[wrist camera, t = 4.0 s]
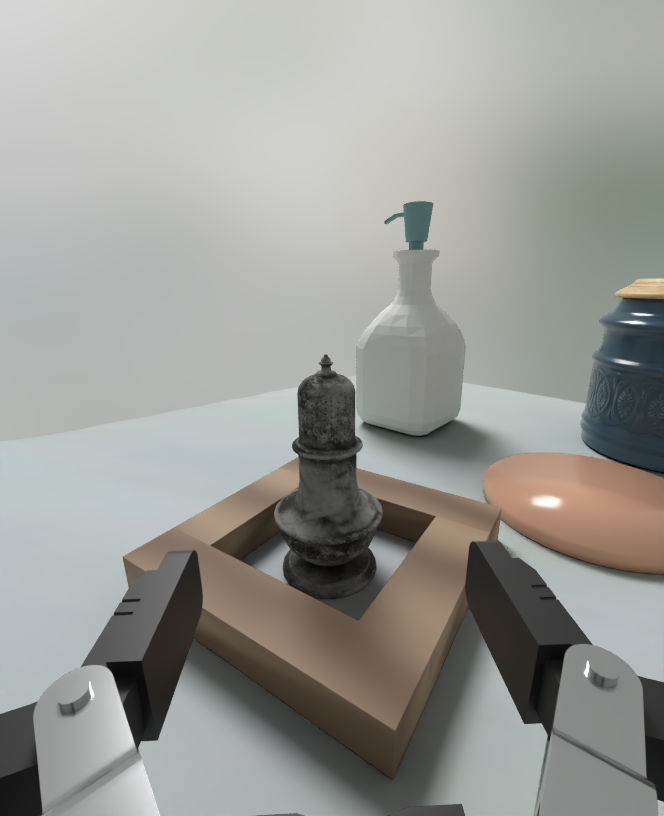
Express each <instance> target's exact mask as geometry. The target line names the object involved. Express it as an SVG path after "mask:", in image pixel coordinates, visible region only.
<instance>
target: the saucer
mask: <svg viewBox="0 0 664 816" xmlns="http://www.w3.org/2000/svg"><path fill="white" fill-rule="evenodd" d="M483 493H484V497H485V499H486V502H487V504H490V505H493V506H497V507H501V508H502V510H501V517H500V519H502V520H503V521H504V522H505V523H506V524H508V525H509V526H510V527H512V528H513V529H515V530H516V531H518V532H519V533H521V534H523V535H524V536H526V537H528V538H530V539H531V540H533V541H535V542H537V543H540V544H542V545H544V546H546V547H548V548H550V549H553V550H555V551H558V552H560V553H563V554H565V555H568V556H571V557H574V558H577V559H580V560H583V561H586V562H590V563H594V564H597V565H601V566H605V567H610V568H615V569H620V570H625V571H632V572H639V573H651V574H664V478H662V477H659V476H657V475H654V474H651V473H649V472H646V471H643V470H640V469H637V468H634V467H630V466H627V465H624V464H620V463H616V462H612V461H608V460H603V459H598V458H593V457H587V456H581V455H573V454H563V453H525V454H518V455H513V456H509V457H506V458H503V459H500V460H498V461H496V462H494V463H493V464H492V465H490V467H489V468H488V469H487V471H486V473H485V479H484V488H483Z"/></svg>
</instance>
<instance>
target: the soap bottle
mask: <svg viewBox="0 0 664 816" xmlns="http://www.w3.org/2000/svg"><path fill="white" fill-rule="evenodd" d="M403 208H404V213H398V214H394V215H393V216H392V217H390V218H388V219H387V220H386V221H385V224H388V223H390V222H391V221H393V220H394V219H396V218H397V217H404V221H405V236H406V242H409V250H402V251H394V252H393V257H394V258H395V259H396V260H397V261H398V263H399V285H398V286H399V287H398V292H397V295H396V297H395V299H394V300H393V302H392V304H391V305H389V306H388V307H387V308H386V309H385V310H383V311H382V312H381V313H380V314H379V315H378V316H377V317H376V318H375V319H374V320H373V322H372V323H371V324H370V326H369V327H368V328H367V329H366V330H365V331H364V332H363V334H362V336H361V338H360V340H359V342H358V345H357V347H356V361H357V362H356V373H357V374H356V386H357V412H358V415H359V416H360V418H361V419H362V420H363V421H364V422H366V423H368V424H372V425H376V426H379V427H383V428H387V429H391V430H395V431H398V432H402V433H406V434H410V435H419V436H421V435H426V434H428V433H430V432H432V431H433V430H435V429H437V428H439V427H441V426H442V425H444V424H446V423H448V422H450V421H451V420H453V419H454V418H456V417H457V416H458V413H459V410H460V405H461V393H462V382H463V370H464V359H465V342H464V338H463V335H462V333H461V331H460V329H459V328H458V326H457V325H456V323H455V322H454V321H453V320H452V318H450V316H449V315H448V314H447V313H446V312H445V311H444V310H443V309H442V308H440V307H439V306H438V305H437V304H436V303H435V301H434V299H433V297H432V293H431V289H430V287H431V286H430V285H431V270H432V262H433V261H434V260H435V258H436V257H438V256H439V250H423V243H424V242H426V241H427V238H428V232H429V226H430V220H431V214H432V208H433V203H432V202H426V201H415V202H410V203H406V204H404V205H403Z"/></svg>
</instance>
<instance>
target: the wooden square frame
mask: <svg viewBox="0 0 664 816" xmlns="http://www.w3.org/2000/svg"><path fill="white" fill-rule="evenodd" d="M356 478H357V484H358V487H359V488H361V489H363V490H365V491H368V492H369V493H371V494H372V495H373V496H374V497H376V498H377V499H378V501H379V502H380V504H381V505H382V510H383V516H382V520H381V523H380V524H379V525H378V526H377V528H378V529H380V530H383V531H386V532H389V533H392V534H395V535H397V536H400V537H403V538H406V539H409V540H412V541H414V542H417V543H416V544H415V545H414V547H413V548H412V550H411V551H410V552H409V554H408V555H407V556H406V558H405V559H404V560H403V562H402V563H401V564H400V566H399V567H398V568H397V570H396V571H395V573H394V574H393V575H392V577H391V578H390V579H389V581H388V582H387V583H386V585H385V586H384V587H383V589H382V590H381V591H380V593H379V594H378V596H377V597H376V598H375V600H374V601H373V602H372V604H371V605H370V606H369V608H368V609H367V610H366V612H365V613H364V614H363V616H362V617H361V618H360V620H359V621H358V620H356V619H354V618H352V617H350V616H348V615H346V614H344V613H343V612H341V611H339V610H337V609H335V608H333V607H331V606H329V605H327V604H325V603H323V602H321V601H319V600H317V599H315V598H313V597H311V596H309V595H307V594H305V593H303V592H301V591H299V590H297V589H295V588H293V587H291V586H289V585H287V584H285V583H283V582H281V581H279V580H277V579H275V578H273V577H271V576H269V575H267V574H265V573H263V572H261V571H259V570H257V569H255V568H253V567H251V566H249V565H247V564H245V563H243V562H242V561H240V560H241V559H243V558H244V557H245V556H247V555H248V554H249V553H251V552H252V551H253V550H255V549H256V548H257V547H259V546H260V545H261V544H263V543H264V542H265V541H267V540H268V539H269V538H270V537H272V536H273V535H274V534H276V533H277V532H278V531H280V530H281V529H280V528H279V526H278V525H277V524H276V522H275V516H274V511H275V508H276V505H277V504H278V503H279V501H280V500H281V499H282V498H283V497H284V496H286V495H287V494H288V493H290V492H292V491H294V490H296V489H298V487H299V480H300V479H299V457H298V458H296V459H294V460H293V461H291V462H289V463H287V464H286V465H284V466H282V467H280V468H278V469H277V470H275V471H273V472H271V473H270V474H268V475H266V476H264V477H263V478H261V479H259V480H257V481H255V482H254V483H252V484H250V485H248V486H247V487H245V488H243V489H241V490H240V491H238V492H236V493H234V494H233V495H231V496H229V497H227V498H225V499H224V500H222V501H220V502H218V503H217V504H215V505H213V506H211V507H210V508H208V509H206V510H204V511H203V512H201V513H199V514H197V515H195V516H194V517H192V518H190V519H188V520H187V521H185V522H183V523H181V524H180V525H178V526H176V527H174V528H173V529H171V530H169V531H167V532H165V533H164V534H162V535H160V536H158V537H157V538H155V539H153V540H151V541H150V542H148V543H146V544H144V545H142V546H141V547H139V548H137V549H135V550H134V551H132V552H130V553H128V554H127V555H125V556H123V561H124V566H125V571H126V576H127V581H128V586H129V588H130V586H131V584H132V583H133V582H135V581H136V580H137V579H138V578H139V577H140V576H141V575H143V574H144V573H145V572H146V571H147V570H157V569H158V567H159V565H160V564H161V562H162V560H163V558H164V556H165V555H166V553H167V552H168V551H182V550H196V552H197V554H198V561H199V568H200V576H201V583H202V591H203V606H202V612H201V616H200V619H199V622H198V625H197V628H196V631H195V634H194V637H193V638H194V639H196V640H197V641H199V642H200V643H201V644H203V645H204V646H206V647H207V648H209V649H210V650H211V651H213V652H214V653H216V654H217V655H218V656H220V657H221V658H223V659H224V660H225V661H227V662H228V663H230V664H231V665H232V666H234V667H235V668H237V669H238V670H239V671H241V672H242V673H244V674H245V675H246V676H248V677H249V678H251V679H252V680H253V681H255V682H256V683H258V684H259V685H260V686H262V687H263V688H265V689H266V690H267V691H269V692H270V693H272V694H273V695H274V696H276V697H277V698H279V699H280V700H282V701H283V702H284V703H286V704H287V705H289V706H290V707H291V708H293V709H294V710H296V711H297V712H298V713H300V714H301V715H303V716H304V717H305V718H307V719H308V720H310V721H311V722H312V723H314V724H315V725H317V726H318V727H319V728H321V729H322V730H324V731H325V732H326V733H328V734H329V735H331V736H332V737H333V738H335V739H336V740H338V741H339V742H340V743H342V744H343V745H345V746H346V747H348V748H349V749H350V750H352V751H353V752H355V753H356V754H357V755H359V756H360V757H362V758H363V759H364V760H366V761H367V762H369V763H370V764H371V765H373V766H374V767H376V768H377V769H378V770H380V771H381V772H383V773H384V774H385V775H387V776H388V777H390V778H391V779H392V780H393V778H394V776H395V773H396V771H397V769H398V766H399V764H400V762H401V760H402V757H403V755H404V753H405V750H406V748H407V746H408V744H409V741H410V739H411V737H412V734H413V732H414V730H415V728H416V725H417V723H418V721H419V718H420V716H421V714H422V711H423V709H424V707H425V705H426V702H427V700H428V698H429V695H430V693H431V691H432V689H433V686H434V684H435V682H436V679H437V677H438V675H439V672H440V670H441V668H442V666H443V663H444V661H445V659H446V656H447V654H448V652H449V650H450V647H451V645H452V643H453V640H454V638H455V636H456V634H457V631H458V629H459V627H460V624H461V622H462V620H463V617H464V615H465V613H466V611H467V608H468V606H469V605H468V602H467V598H466V592H465V581H466V572H467V562H468V553H469V546H470V543H471V542H472V541H497V540H498V533H499V525H500V517H501V510H502V508H501V507H497V506H493V505H490V504H486V503H482V502H479V501H475V500H471V499H468V498H464V497H460V496H457V495H453V494H449V493H445V492H442V491H438V490H434V489H431V488H427V487H423V486H420V485H416V484H412V483H409V482H405V481H401V480H398V479H394V478H390V477H387V476H383V475H379V474H375V473H372V472H368V471H364V470H361V469H357V468H356Z"/></svg>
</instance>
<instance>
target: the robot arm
mask: <svg viewBox="0 0 664 816" xmlns="http://www.w3.org/2000/svg"><path fill="white" fill-rule="evenodd" d="M465 592H466V598H467V602H468V605H469V608H470V610H471V612H472V614H473V617H474V619H475V621H476V623H477V625H478V627H479V629H480V631H481V633H482V636H483V638H484V640H485V642H486V644H487V646H488V648H489V650H490V652H491V655H492V657H493V659H494V661H495V663H496V665H497V667H498V669H499V671H500V674H501V676H502V678H503V680H504V682H505V684H506V686H507V688H508V691H509V693H510V695H511V697H512V699H513V701H514V703H515V705H516V707H517V710H518V712H519V714H520V716H521V718H522V720H523V722H524V724H535V723H542V725H543V727H544V728H545V730H546V732H547V734H548V736H547V741H546V746H545V752H544V758H543V764H542V769H541V775H540V781H539V787H538V793H537V799H536V804H535V810H534V816H658V804H657V800H660V801H663V802H664V682H660V681H656V680H651V679H647V678H643V677H640V676H637V674H636V673H635V672H634V670H633V669H632V668H631V667H630V666H629V665H628V664H627V663H626V662H624V661H623V660H622V659H621V658H619V657H618V656H616V655H615V654H613V653H611V652H610V651H607V650H605V649H603V648H600V647H598V646H594V645H593V644H592V643H591V642H590V641H589V639H588V638H587V637H586V635H585V634H584V633H583V631H582V630H581V629H580V628H579V626H578V625H577V624H576V622H575V621H574V620H573V618H572V617H571V616H570V614H569V613H568V612H567V611H566V609H565V608H564V607H563V605H562V604H561V603H560V601H559V600H556V596H555V595H554V594H553V592H552V591H551V590H550V588H549V587H547V584H546V583H545V582H544V581H543V579H542V578H541V577H540V575H539V574H538V573H537V571H536V570H535V569H533V568H532V567H531V566H529V565H528V564H526V563H525V562H524V561H522V560H521V559H520V558H511V557H510V556H509V554H508V553H507V551H506V550H505V549H504V547H503V546H502V544H501V543H500V542H499V541H472V542H471V543H470V546H469V553H468V562H467V572H466V581H465ZM202 606H203V591H202V583H201V576H200V568H199V561H198V554H197V552H196V550H182V551H168V552H167V553H166V555H165V556H164V558H163V560H162V562H161V564H160V565H159V567H158V569H157V570H147V571H146V572H145V573H144V574H143V575H141V576H140V577H139V578H138V579H137V580H136V581H135V582H133V583H132V584H131V586H130V588H129V589H128V591H127V592H126V594H125V596H124V597H123V599H122V603H120V604H119V605H118V607H117V609H116V610H115V612H114V616H112V617H111V619H110V620H109V622H108V623H107V625H106V627H105V628H104V630H103V632H102V633H101V635H100V636H99V638H98V640H97V641H96V643H95V645H94V646H93V648H92V650H91V651H90V653H89V654H88V656H87V658H86V659H85V661H84V663H83V664H82V666H81V667H80V668H78V669H75V670H73V671H71V672H69V673H67V674H65V675H64V676H62V677H61V678H59V679H58V680H57V681H55V682H54V683H53V684H52V685H51V686H50V687H49V688H48V689H47V690H46V691H45V692H44V693H43V695H42V696H41V697H40V699H39V701H38V702H35V703H33V704H30V705H27V706H24V707H21V708H18V709H15V710H12V711H9V712H5V713H2V714H0V816H160V814H159V811H158V807H157V804H156V801H155V798H154V795H153V792H152V789H151V786H150V783H149V780H148V777H147V773H146V770H145V767H144V764H143V761H142V758H141V755H140V753H139V750H138V747H139V744H140V742H141V741H155V740H158V738H159V735H160V732H161V729H162V726H163V723H164V721H165V718H166V715H167V712H168V709H169V706H170V703H171V700H172V697H173V695H174V692H175V689H176V686H177V683H178V680H179V677H180V674H181V671H182V669H183V666H184V663H185V660H186V657H187V654H188V651H189V648H190V645H191V643H192V640H193V637H194V634H195V631H196V628H197V625H198V622H199V619H200V616H201V612H202ZM257 816H304V815H300V814H297V813H293V814H275V815H257ZM388 816H465V814H464V810H463V807H462V804H453V805H435V806H418V807H407V808H405V809H402V810H400V811H398V812H395V813H393V814H391V815H388Z"/></svg>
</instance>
